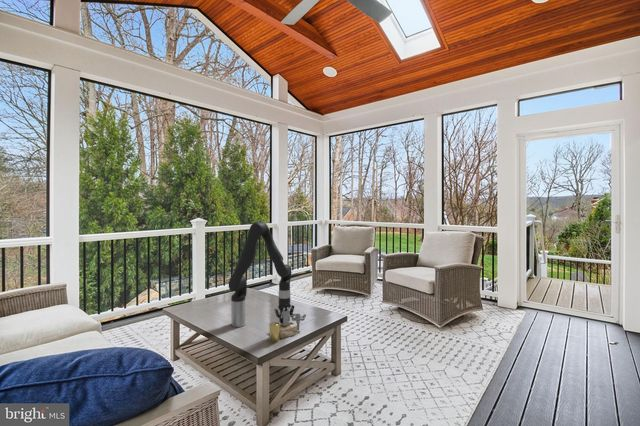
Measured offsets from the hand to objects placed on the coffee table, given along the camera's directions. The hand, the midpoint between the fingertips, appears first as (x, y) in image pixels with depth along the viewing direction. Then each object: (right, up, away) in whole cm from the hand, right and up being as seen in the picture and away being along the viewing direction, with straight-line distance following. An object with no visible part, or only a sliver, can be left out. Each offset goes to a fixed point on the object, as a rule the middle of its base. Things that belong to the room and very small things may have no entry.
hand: (284, 322), depth 203 cm
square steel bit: (0, -4, 0) cm, 4 cm away
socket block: (0, -7, 0) cm, 7 cm away
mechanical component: (+8, -7, +6) cm, 12 cm away
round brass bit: (-5, -7, -10) cm, 14 cm away
